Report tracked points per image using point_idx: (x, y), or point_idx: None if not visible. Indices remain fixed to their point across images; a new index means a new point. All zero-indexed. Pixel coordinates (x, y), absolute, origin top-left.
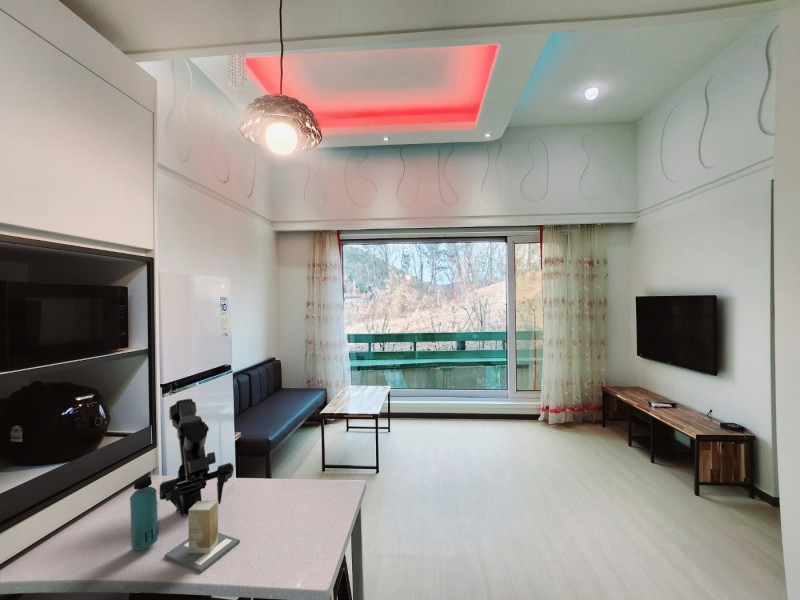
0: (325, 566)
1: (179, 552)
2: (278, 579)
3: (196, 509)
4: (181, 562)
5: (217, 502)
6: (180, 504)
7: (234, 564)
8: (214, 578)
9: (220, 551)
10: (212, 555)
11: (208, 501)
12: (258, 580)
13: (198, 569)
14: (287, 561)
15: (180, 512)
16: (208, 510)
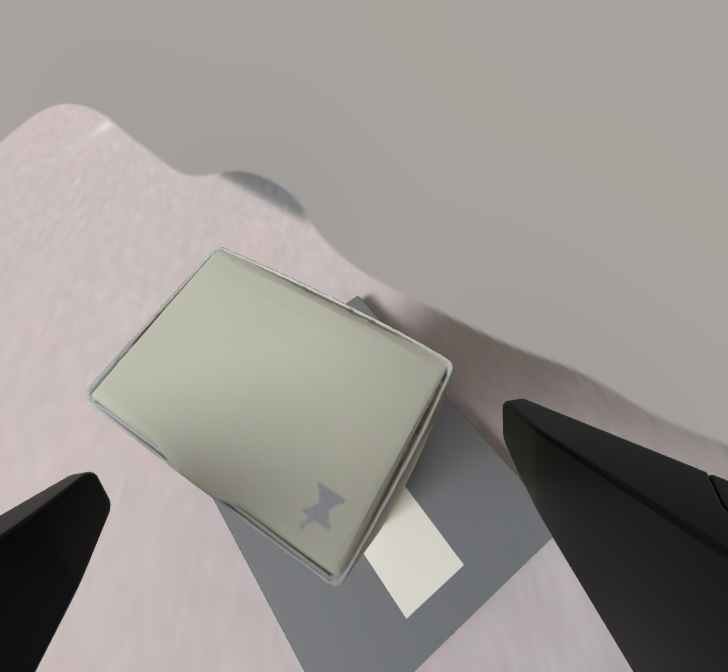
0: (10, 150)
1: (474, 494)
2: (139, 161)
3: (350, 320)
4: (449, 400)
5: (97, 383)
6: (631, 475)
7: None
8: (314, 251)
9: None
10: None
11: (184, 458)
12: (189, 181)
13: (369, 309)
14: (80, 215)
15: (559, 413)
16: (227, 251)
